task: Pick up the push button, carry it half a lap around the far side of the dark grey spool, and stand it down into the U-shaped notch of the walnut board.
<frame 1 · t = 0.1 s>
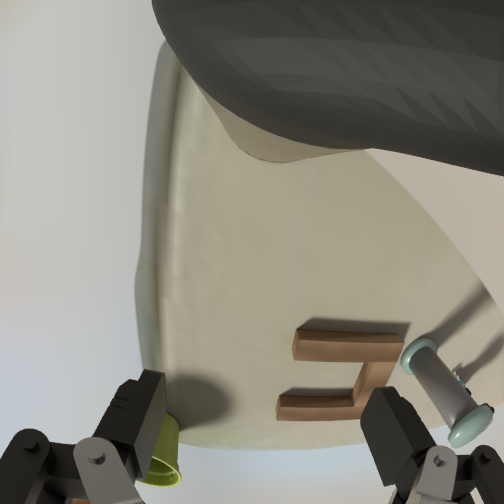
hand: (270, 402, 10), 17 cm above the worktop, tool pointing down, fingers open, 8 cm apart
spool: (417, 354, 30), on the worktop
plant pot: (157, 420, 33), on the worktop
notched board: (335, 375, 30), on the worktop
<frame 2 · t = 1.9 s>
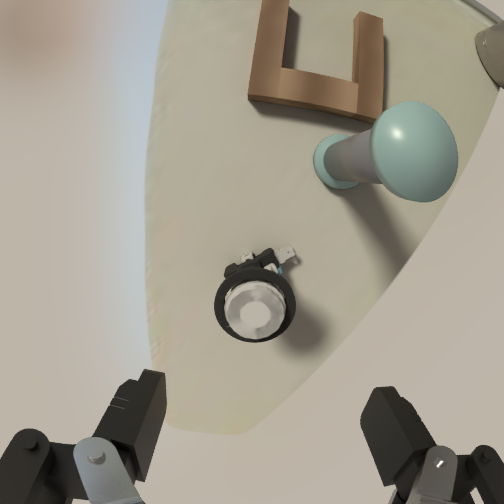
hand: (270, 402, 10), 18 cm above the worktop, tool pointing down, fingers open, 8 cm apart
spool: (339, 161, 25), on the worktop
notched board: (318, 55, 22), on the worktop
push button: (260, 263, 27), on the worktop
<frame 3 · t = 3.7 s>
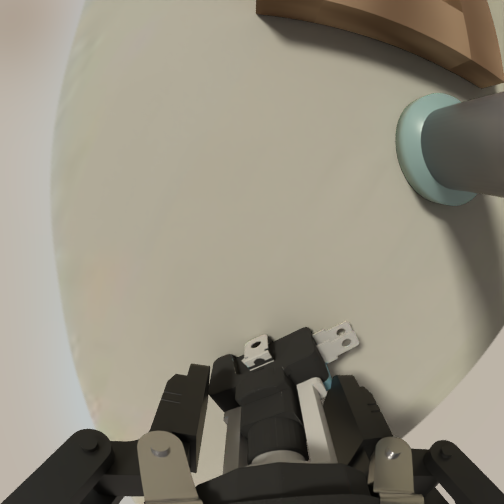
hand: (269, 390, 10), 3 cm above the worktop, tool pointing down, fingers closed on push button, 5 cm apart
spool: (439, 149, 10), on the worktop
push button: (282, 351, 13), on the worktop, touching gripper
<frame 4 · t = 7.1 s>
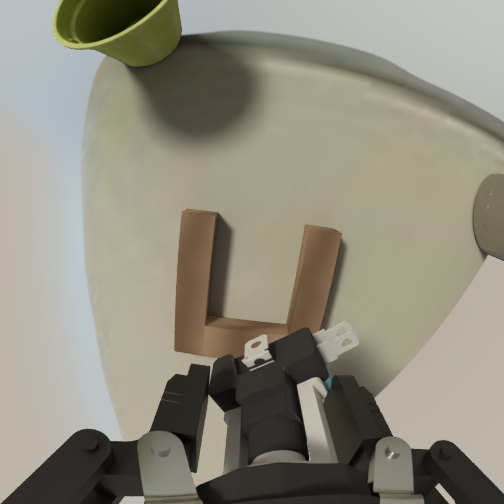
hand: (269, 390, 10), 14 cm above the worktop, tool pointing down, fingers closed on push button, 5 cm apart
plant pot: (149, 39, 19), on the worktop
notched board: (251, 289, 24), on the worktop
push button: (282, 351, 13), point 11 cm above the worktop, touching gripper
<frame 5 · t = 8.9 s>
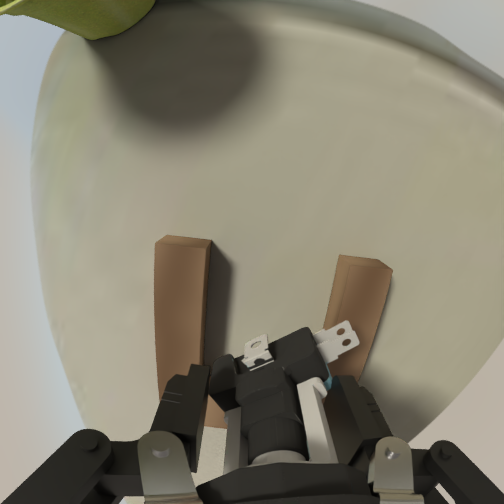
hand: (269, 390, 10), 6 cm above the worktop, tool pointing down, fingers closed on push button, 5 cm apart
plant pot: (117, 5, 12), on the worktop
notched board: (262, 343, 17), on the worktop
push button: (282, 351, 13), point 4 cm above the worktop, touching gripper
when the fingers open (3 cm above the worktop, at t = 10.2 s): push button stays where it is, resting in notched board.
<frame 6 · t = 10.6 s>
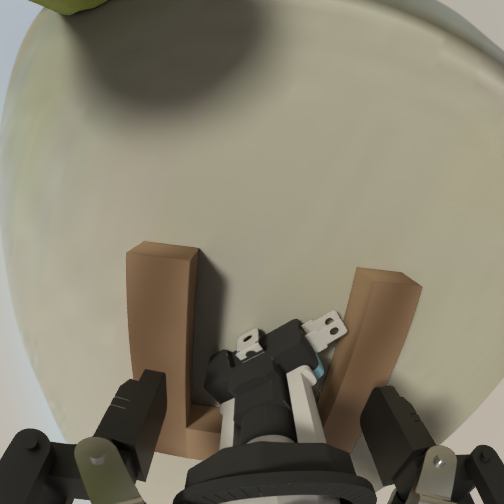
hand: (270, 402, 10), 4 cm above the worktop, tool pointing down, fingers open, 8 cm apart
notched board: (261, 371, 14), on the worktop
push button: (275, 344, 14), resting in notched board
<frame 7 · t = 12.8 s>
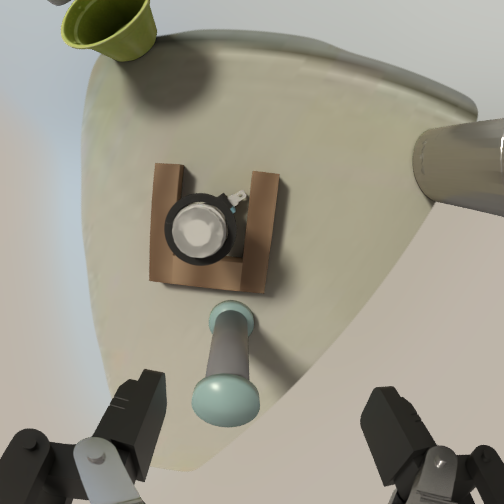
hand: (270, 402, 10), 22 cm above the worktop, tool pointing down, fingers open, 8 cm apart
spool: (231, 320, 32), on the worktop
plant pot: (133, 40, 24), on the worktop
notched board: (212, 226, 30), on the worktop
push button: (218, 210, 30), resting in notched board
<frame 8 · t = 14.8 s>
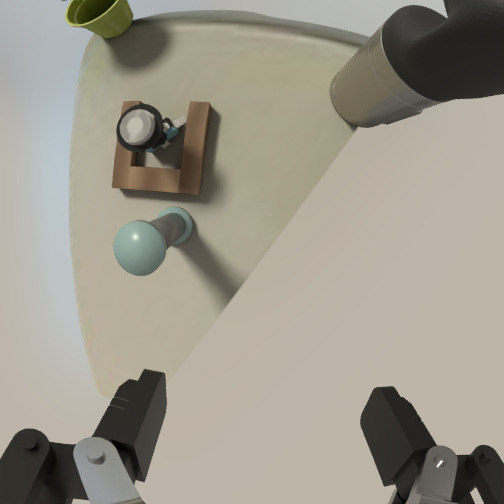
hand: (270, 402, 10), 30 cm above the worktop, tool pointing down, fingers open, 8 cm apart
spool: (174, 224, 38), on the worktop
plant pot: (116, 24, 30), on the worktop
notched board: (161, 146, 36), on the worktop
push button: (166, 135, 35), resting in notched board
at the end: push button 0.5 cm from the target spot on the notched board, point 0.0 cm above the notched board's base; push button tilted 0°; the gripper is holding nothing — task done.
